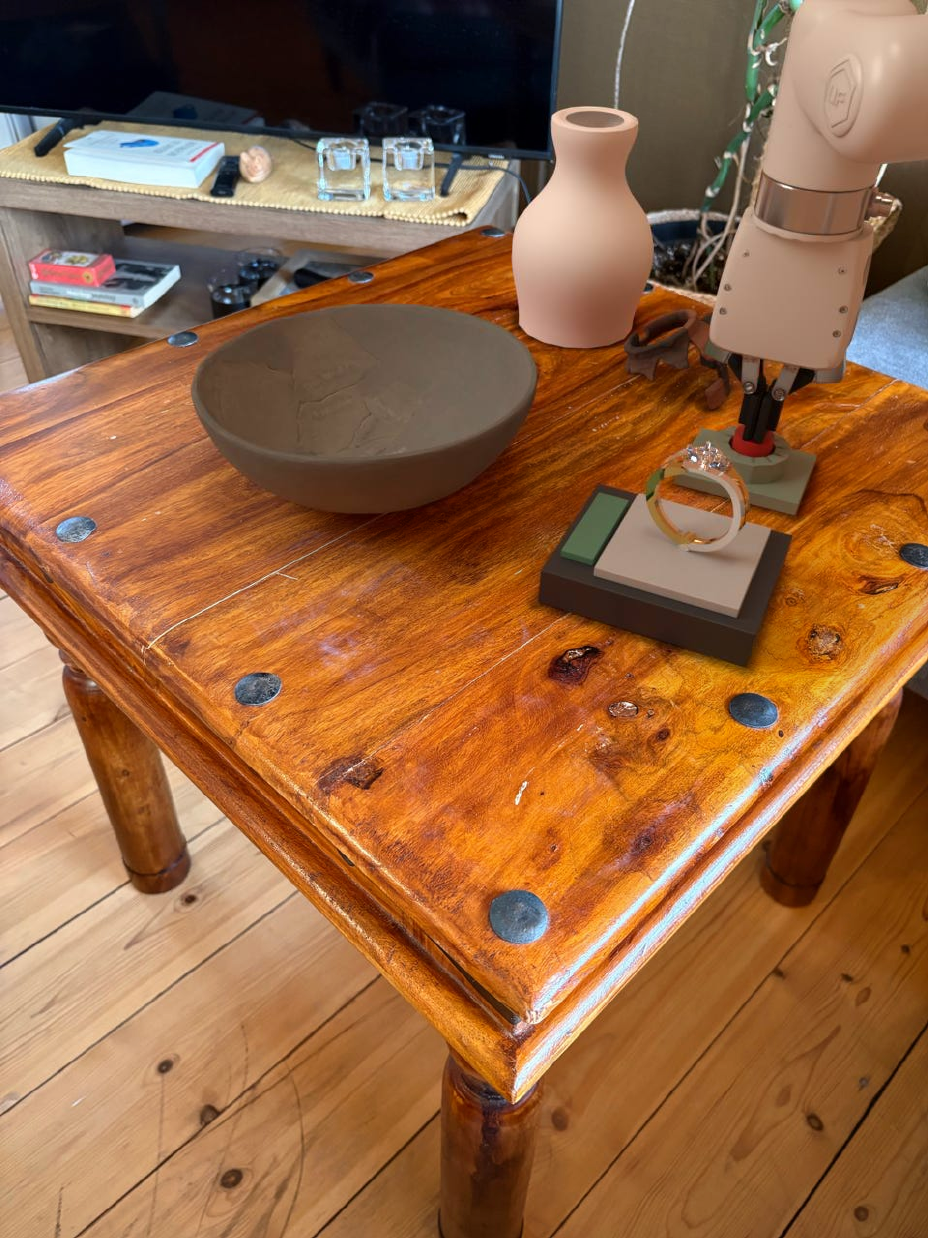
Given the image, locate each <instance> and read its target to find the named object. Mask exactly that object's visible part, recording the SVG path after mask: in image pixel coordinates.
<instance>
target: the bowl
mask: <svg viewBox="0 0 928 1238" xmlns="http://www.w3.org/2000/svg"><path fill="white" fill-rule="evenodd" d="M537 390H538V369H537V364H536V361H535V359H534V356H533V354H532V353H531V351H530V349H529V348H528V346H527V345H526V344H525V343H524V342H523V341H522V340H521V339H520V338H519V337H518V336H516V335H515V334H514V333H512V332H511V331H510V330H508V329H506V328H504V327H502V326H501V325H499V324H496V323H495V322H492V321H490V320H487V319H485V318H482V317H478V316H476V315H473V314H471V313H468V312H467V313H466V312H462V311H459V310H455V309H450V308H445V307H444V308H443V307H439V306H432V305H425V304H413V303H412V304H411V303H389V302H388V303H386V302H385V303H384V302H383V303H381V302H379V303H356V304H355V303H353V304H343V305H333V306H329V307H328V306H327V307H323V308H319V309H314V310H308V311H304V312H299V313H295V314H291V315H287V316H283V317H277V318H274V319H270V320H268V321H265V322H262V323H260V324H257V325H255V326H253V327H251V328H249V329H247V330H245V331H244V332H242V333H240V334H239V335H236V336H235V337H233V338H232V339H229V340H228V341H227V342H225V343H223V344H222V345H220V346H218V347H217V348H215V350H213V351H211V352H210V353H209V354H208V355H206V356H205V357H204V358H203V359H202V361H201V362H199V364H198V366H197V368H196V371H195V374H194V376H193V379H192V382H191V386H190V394H191V395H190V396H191V401H192V404H193V408H194V410H195V412H196V415H197V417H198V419H199V422H200V423H201V426H202V427H203V428H204V430H205V432H206V434H207V436H208V437H209V439H210V441H212V443H213V444H214V446H215V447H216V449H217V450H218V451H219V453H220V454H221V455H222V456H223V458H224V459H225V460H226V461H227V462H228V463H229V464H230V465H231V466H232V467H233V468H234V469H235V470H237V471H238V472H239V473H240V474H241V475H242V476H243V477H245V478H246V479H247V480H249V481H250V482H252V483H253V484H255V485H256V486H257V487H259V488H261V489H263V490H264V491H267V492H268V493H270V494H272V495H274V496H276V497H278V498H281V499H282V500H286V501H288V502H291V503H294V504H296V505H298V506H302V507H305V508H310V509H313V510H318V511H321V512H329V513H337V514H338V513H339V514H358V515H359V514H361V515H363V514H388V513H394V512H402V511H407V510H410V509H414V508H418V507H422V506H425V505H428V504H430V503H433V502H436V501H439V500H441V499H443V498H446V497H447V496H450V495H452V494H454V493H456V492H458V491H460V490H462V489H463V488H465V487H467V486H468V485H469V484H470V483H472V482H473V481H474V480H475V479H477V478H478V477H479V476H480V475H481V474H483V473H484V472H485V471H486V470H487V469H488V468H489V467H490V466H491V465H492V464H493V463H495V461H496V460H497V459H498V458H499V457H500V456H501V455H502V454H503V453H504V451H505V450H506V449H507V448H508V447H509V446H510V445H511V444H512V442H513V440H515V437H517V435H518V434H519V432H520V430H521V428H522V427H523V425H524V423H525V422H526V420H527V418H528V415H529V413H530V412H531V408H532V407H533V404H534V402H535V398H536V394H537Z"/></svg>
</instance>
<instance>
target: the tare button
mask: <svg viewBox="0 0 928 1238" xmlns="http://www.w3.org/2000/svg"><path fill="white" fill-rule="evenodd" d="M738 426H739V427H737V428H736V430H735V433H734V437H733V442H732V446H731V449H732V450H734V451H736V452H737V453H739V454H741V455H744V456H748V457H752V458H754V457H767V456H769V455H771V451H772V447H773V443H774V439H775V435H774V433H775V432H774V433H773V431H769V430H768V431H767V433H766V436H765V438H764V440H763V442H762V444H759V443H755V441H754V440H753V438H754V435H753V437H752V439H751V440H749V441H746V440H742V436H743V432H744V427H745V425H743V424H740V425H738ZM754 434H755V433H754Z"/></svg>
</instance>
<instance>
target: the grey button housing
mask: <svg viewBox="0 0 928 1238" xmlns="http://www.w3.org/2000/svg"><path fill="white" fill-rule="evenodd" d="M739 426H740V425H732V426H729V427H727V428H724V429H722V430H719V431H718V430H714V429H710V428H706V427H701V428H700V429H699V431H698V433H697V435H696V436H695V438H694V440H693V442H692V443H691V445H692V447H699V446H705V443H706V442H707V441H709V442H711V443H712V444H711V447H714V448H717V447H719V448H721V451H722V452H723V453H724V454H727V462H729V460H730V461H732V462H733V465H732V467H733V468H734V469H735V470H736V471H737V472H738V473H739V474H740V476H741V477H742V479H743V481H744V483H745V485H746V487H747V490H748V493H749V499H750V505H753V506H756V507H759V508H763V509H768V510H771V511H775V512H779V513H783V514H787V515H790V516H794V517H795V516H796V515H797V512H798V511H799V507H800V505H801V502H802V499H803V496H804V495H805V491H806V489H807V486H808V483H809V481H810V477H811V475H812V472H813V470H814V467H815V465H816V460H817V458H818V455H817V454H813V453H809V452H806V451H801V450H797V449H793V448H791V446H790V445H789V443H788V441H787V439H786V438H785V437H783V436H781V435H780V434H779V433H776V432H773V431H772V432H773V433H774V435H775V439H774V443H773V447H772V451H771V455H769V456H767V457H754V458H752V457H748V456H744V455H741V454H739V453H737V452H736V451H734V450H732V449H731V446H732V442H733V437H734V433H735V430H736V428H737V427H739ZM684 460H686V461H687V459H683V460H681V463H683V461H684ZM673 484H674V485H675V486H679V487H684V488H687V489H691V490H694V491H698V492H701V493H706V494H711V495H714V496H717V497H721V498H725V499H729V500H731V498H730V495H729V493H728V492H727V490H726V489H725V488H724V487H723V486H722V485H721V484H720V483H718V482H717V481H715V480H713V479H711V478H709V477H707V476H704V475H701V474H698V473H694V472H690V471H687V474H679V475H674V482H673Z"/></svg>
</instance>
